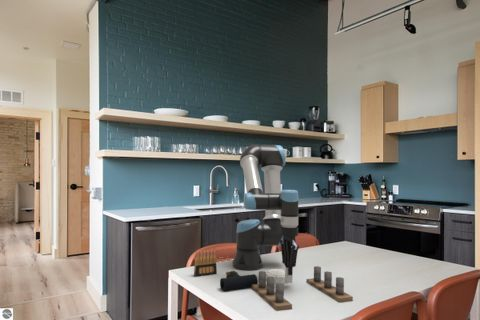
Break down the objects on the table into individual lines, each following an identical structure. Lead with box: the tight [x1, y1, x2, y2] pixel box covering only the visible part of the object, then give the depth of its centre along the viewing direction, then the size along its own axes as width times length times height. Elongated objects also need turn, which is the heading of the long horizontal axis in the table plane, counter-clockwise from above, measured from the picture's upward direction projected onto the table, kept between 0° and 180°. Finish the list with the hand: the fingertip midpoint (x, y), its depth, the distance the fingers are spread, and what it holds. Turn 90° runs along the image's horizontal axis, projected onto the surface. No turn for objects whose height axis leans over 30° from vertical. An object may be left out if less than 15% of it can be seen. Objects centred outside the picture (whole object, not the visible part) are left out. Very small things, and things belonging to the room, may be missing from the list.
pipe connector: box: [219, 270, 259, 292], centre depth 147 cm, size 12×5×15 cm
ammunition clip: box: [193, 248, 218, 278], centre depth 161 cm, size 11×2×12 cm, turn 117°
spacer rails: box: [251, 265, 354, 312], centre depth 138 cm, size 24×32×8 cm
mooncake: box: [265, 268, 287, 284], centre depth 156 cm, size 12×12×4 cm
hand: (288, 282), depth 146 cm, fingers closed
